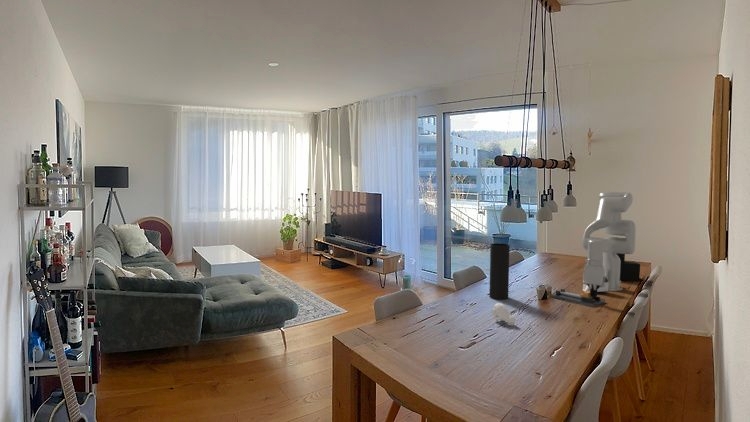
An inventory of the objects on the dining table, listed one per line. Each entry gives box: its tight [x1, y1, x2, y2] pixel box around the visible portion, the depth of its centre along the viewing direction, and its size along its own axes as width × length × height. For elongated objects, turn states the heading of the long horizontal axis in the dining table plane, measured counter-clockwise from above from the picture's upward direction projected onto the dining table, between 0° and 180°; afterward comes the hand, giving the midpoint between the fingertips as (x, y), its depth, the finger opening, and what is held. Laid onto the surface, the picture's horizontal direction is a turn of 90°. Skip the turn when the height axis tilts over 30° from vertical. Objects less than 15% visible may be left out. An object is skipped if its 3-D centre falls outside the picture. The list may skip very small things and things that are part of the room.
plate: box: [549, 288, 606, 308], centre depth 251 cm, size 14×24×4 cm, turn 38°
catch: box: [579, 290, 592, 298], centre depth 247 cm, size 5×5×4 cm
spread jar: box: [582, 277, 609, 295], centre depth 267 cm, size 12×11×12 cm
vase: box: [488, 242, 511, 301], centre depth 255 cm, size 10×10×30 cm
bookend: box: [616, 253, 643, 282], centre depth 301 cm, size 23×11×24 cm, turn 80°
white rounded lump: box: [491, 302, 516, 327], centre depth 211 cm, size 6×8×12 cm
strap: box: [559, 290, 582, 298], centre depth 254 cm, size 4×14×1 cm, turn 38°
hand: (593, 296), depth 244 cm, fingers closed
